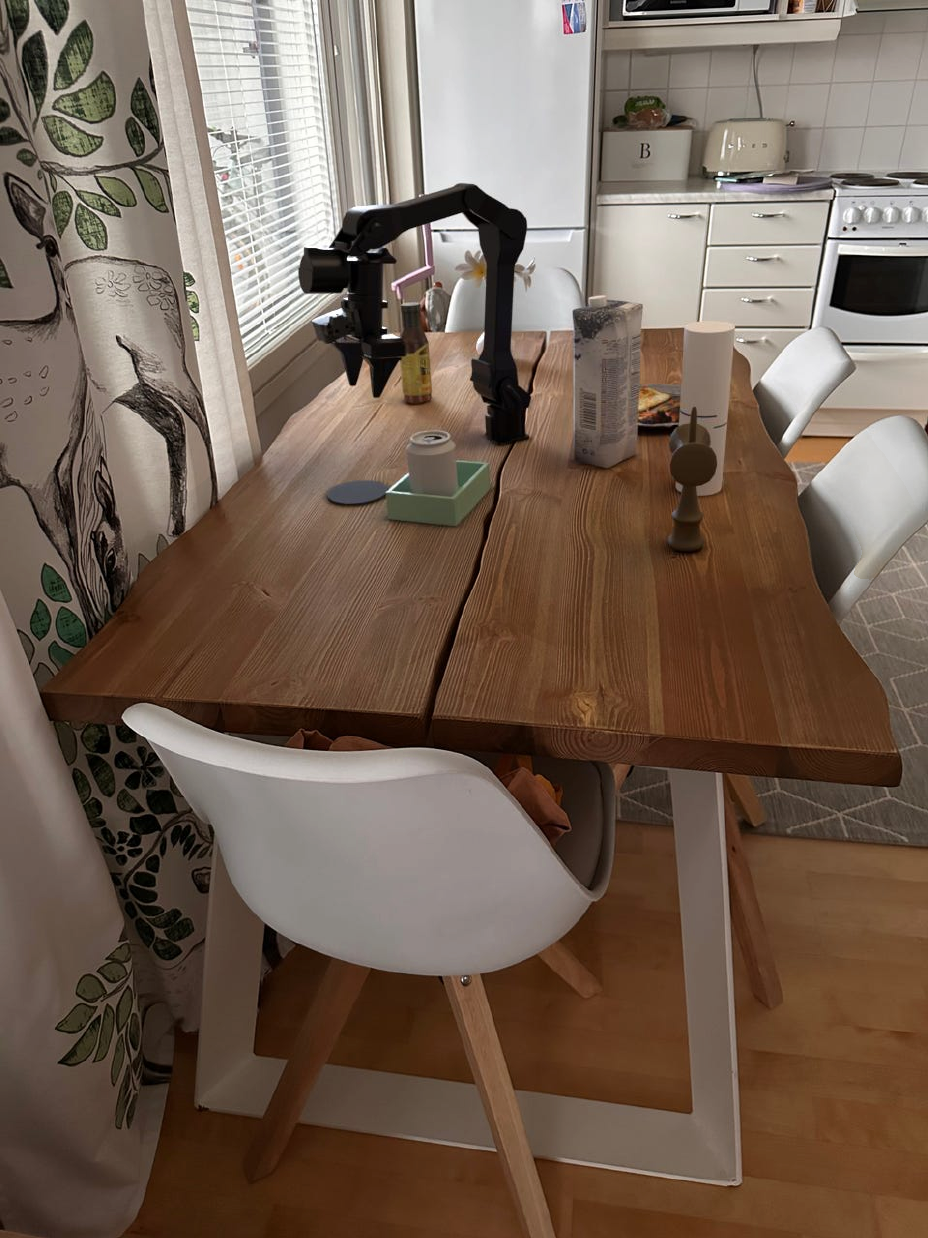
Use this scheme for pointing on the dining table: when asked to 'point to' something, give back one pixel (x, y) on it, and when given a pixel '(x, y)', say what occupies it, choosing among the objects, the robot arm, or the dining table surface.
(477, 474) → the green open box
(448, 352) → the dining table surface
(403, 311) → the sauce bottle
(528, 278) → the flower vase
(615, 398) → the juice carton
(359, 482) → the coaster
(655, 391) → the food plate
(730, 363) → the cylindrical container
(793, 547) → the dining table surface
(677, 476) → the kendama
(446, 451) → the can
